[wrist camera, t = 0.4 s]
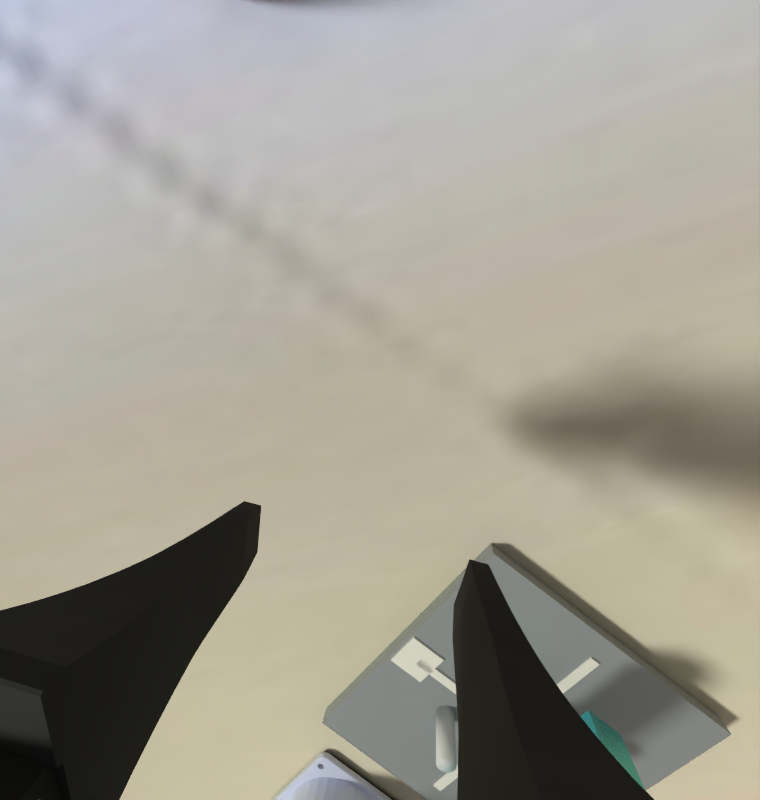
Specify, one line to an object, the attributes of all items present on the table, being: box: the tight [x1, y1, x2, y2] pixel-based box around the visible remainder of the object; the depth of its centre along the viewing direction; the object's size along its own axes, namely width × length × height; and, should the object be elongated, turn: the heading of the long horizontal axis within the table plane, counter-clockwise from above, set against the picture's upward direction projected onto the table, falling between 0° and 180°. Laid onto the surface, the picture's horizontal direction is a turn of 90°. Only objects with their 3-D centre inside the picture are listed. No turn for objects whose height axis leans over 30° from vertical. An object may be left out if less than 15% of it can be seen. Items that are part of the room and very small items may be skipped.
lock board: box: [322, 544, 731, 800], centre depth 24 cm, size 18×18×4 cm
